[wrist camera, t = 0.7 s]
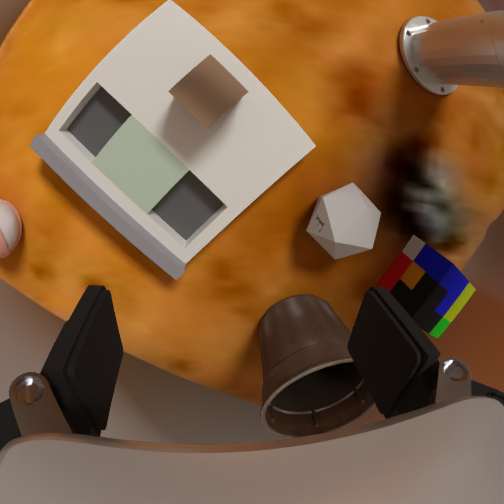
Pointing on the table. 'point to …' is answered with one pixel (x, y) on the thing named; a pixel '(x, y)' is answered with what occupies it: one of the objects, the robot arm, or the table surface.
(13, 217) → the toy ball
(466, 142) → the table surface
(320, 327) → the plant pot
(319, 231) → the die
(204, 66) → the block
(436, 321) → the puzzle toy
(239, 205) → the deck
